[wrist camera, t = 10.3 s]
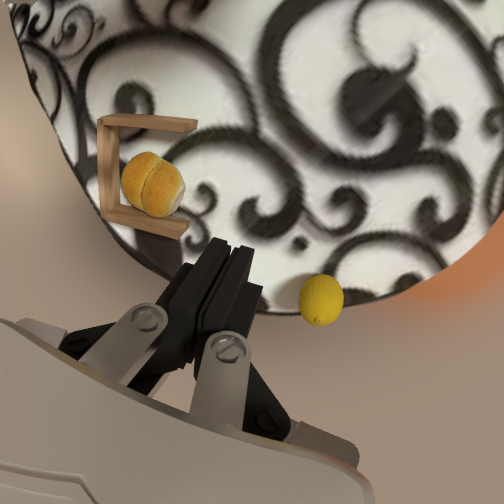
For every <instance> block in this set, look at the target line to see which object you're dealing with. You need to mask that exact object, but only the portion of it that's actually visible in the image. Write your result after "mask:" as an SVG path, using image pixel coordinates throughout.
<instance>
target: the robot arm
mask: <svg viewBox="0 0 504 504" xmlns="http://www.w3.org/2000/svg"><path fill="white" fill-rule="evenodd" d="M254 250H255V249H253V248H249V247H246V246H243V245H241V246H240V248H236V247H235V248H234V249H233V251H232V253H231V255H230V252H231V246H230V245H227V241H226V240H222V239H219V238H216V237H213V238H212V240H211V241H210V243H209V244H208V246H207V247H206V248H205V250H204V251H203V253H202V254H201V256H200V257H199V259H198V260H197V262H196V263H195V264H194V265H193V264H190V263H187V262H186V263H184V264H183V265H182V267H181V268H180V269H179V271H178V272H177V274H176V275H175V276H174V278H173V279H172V281H171V282H170V283H169V285H168V286H167V288H166V289H165V290H164V292H163V293H162V295H161V296H160V297H159V299H158V300H157V302H156V303H155V304H152V303H141V304H138V305H135V306H134V307H132V308H131V309H130V310H128V311H127V313H125V314H124V315H123V316H122V317H121V318H120V319H119V320H118V322H114V323H110V324H106V325H101V326H97V327H92V328H88V329H83V330H78V331H74V332H72V333H67V330H65V329H61V328H58V327H55V326H51V325H48V324H45V323H42V322H39V321H35V320H33V319H28V318H25V319H21V320H19V321H18V322H16V323H14V322H12V321H9V320H6V319H2V318H0V504H375V496H374V491H373V488H372V486H371V483H370V482H369V480H368V479H367V478H366V477H365V476H364V475H363V474H361V473H360V472H359V471H358V470H356V469H357V466H358V463H359V458H360V454H359V451H358V449H357V447H356V446H355V445H354V444H353V443H351V442H350V441H348V440H345V439H342V438H340V437H338V436H335V435H333V434H330V433H328V432H325V431H323V430H321V429H318V428H316V427H314V426H311V425H309V424H307V423H305V422H303V421H300V422H297V421H295V420H293V419H291V418H289V416H288V414H287V412H286V411H285V410H284V408H283V407H282V406H281V404H280V403H279V402H278V400H277V399H276V397H275V396H274V394H273V393H272V392H271V390H270V389H269V388H268V386H267V385H266V383H265V382H264V381H263V379H262V377H261V376H260V375H259V373H258V372H257V370H256V369H255V368H254V366H253V365H252V363H251V362H250V360H251V346H250V344H249V342H248V341H247V340H246V339H247V337H248V334H249V331H250V328H251V324H252V322H253V319H254V316H255V313H256V310H257V306H258V303H259V300H260V296H261V293H262V289H263V286H260V285H257V284H253V283H250V282H247V281H248V276H249V272H250V268H251V264H252V259H253V255H254ZM194 357H195V364H194V377H195V380H196V385H195V389H194V394H193V398H192V402H191V406H190V411H189V413H186V412H184V411H181V410H179V409H176V408H173V407H171V406H169V405H166V404H164V403H161V402H159V401H157V400H154V399H152V398H153V396H154V395H155V393H156V392H157V391H158V390H159V388H160V387H161V386H162V384H163V383H164V381H165V380H166V379H167V377H168V375H169V373H170V372H172V371H174V370H177V369H178V368H181V369H184V367H185V365H186V363H190V364H191V363H192V361H193V359H194Z"/></svg>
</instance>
